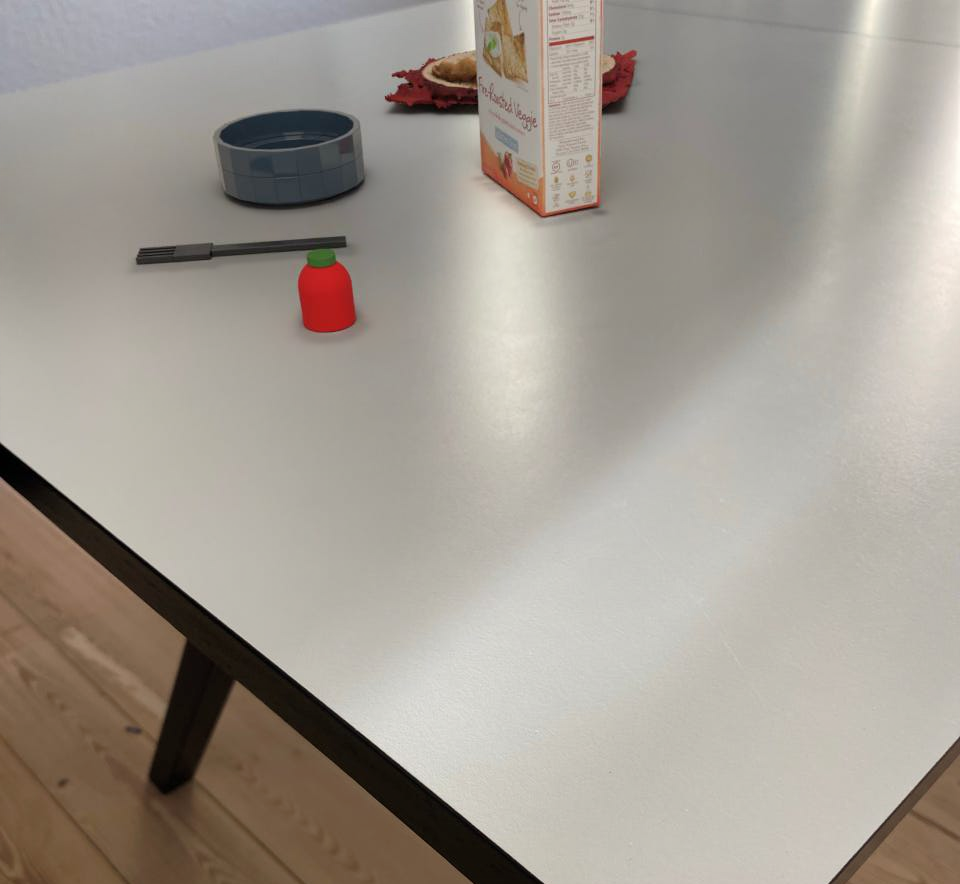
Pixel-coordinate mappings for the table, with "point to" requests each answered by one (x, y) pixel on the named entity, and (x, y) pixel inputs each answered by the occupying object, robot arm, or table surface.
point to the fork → (231, 249)
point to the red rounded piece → (325, 293)
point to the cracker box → (541, 99)
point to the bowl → (290, 156)
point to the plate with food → (459, 80)
